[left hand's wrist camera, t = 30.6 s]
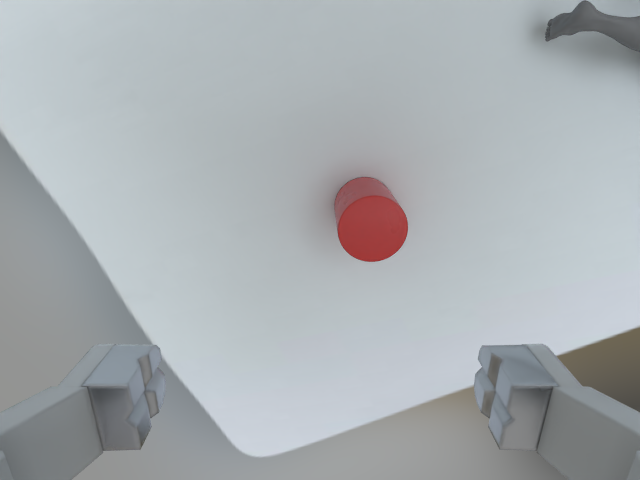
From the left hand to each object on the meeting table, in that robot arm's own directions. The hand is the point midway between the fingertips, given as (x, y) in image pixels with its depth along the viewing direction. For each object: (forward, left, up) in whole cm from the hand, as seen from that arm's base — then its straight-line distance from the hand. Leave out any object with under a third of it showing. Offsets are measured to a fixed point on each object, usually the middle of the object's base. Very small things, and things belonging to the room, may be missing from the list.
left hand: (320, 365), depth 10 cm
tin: (+2, -1, -15) cm, 16 cm away
